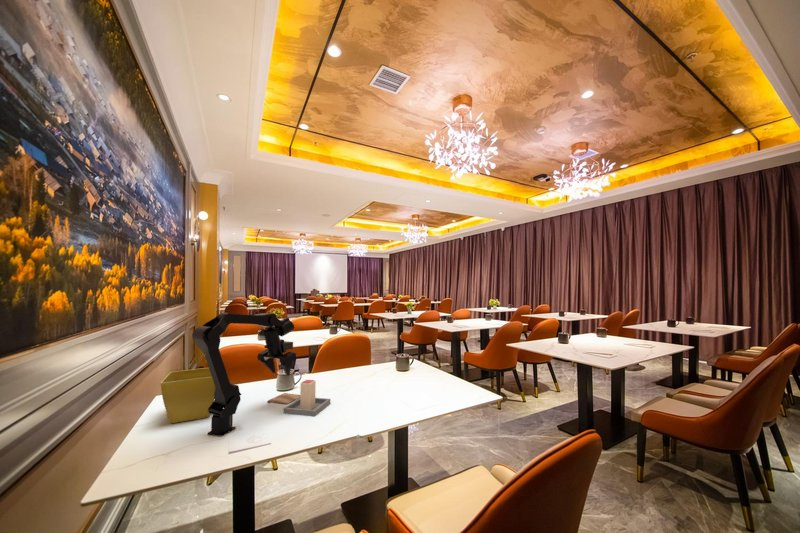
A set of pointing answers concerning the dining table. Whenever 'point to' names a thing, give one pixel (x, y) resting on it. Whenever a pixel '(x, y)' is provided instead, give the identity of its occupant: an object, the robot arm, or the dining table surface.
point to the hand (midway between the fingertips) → (281, 374)
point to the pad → (284, 398)
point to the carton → (307, 394)
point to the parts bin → (295, 409)
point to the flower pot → (188, 394)
